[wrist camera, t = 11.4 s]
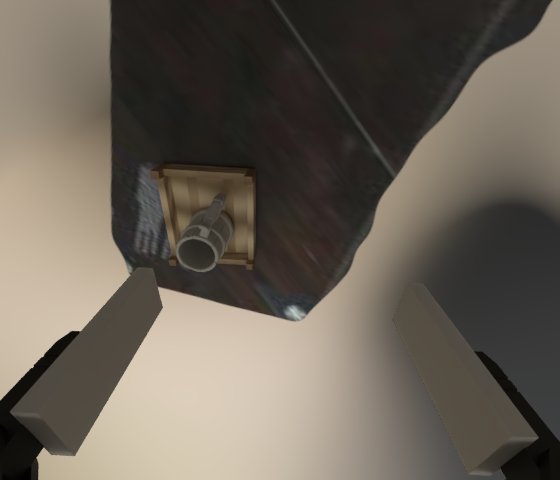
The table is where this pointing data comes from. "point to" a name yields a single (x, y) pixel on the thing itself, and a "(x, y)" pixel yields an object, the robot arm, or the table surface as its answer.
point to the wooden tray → (199, 194)
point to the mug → (205, 237)
